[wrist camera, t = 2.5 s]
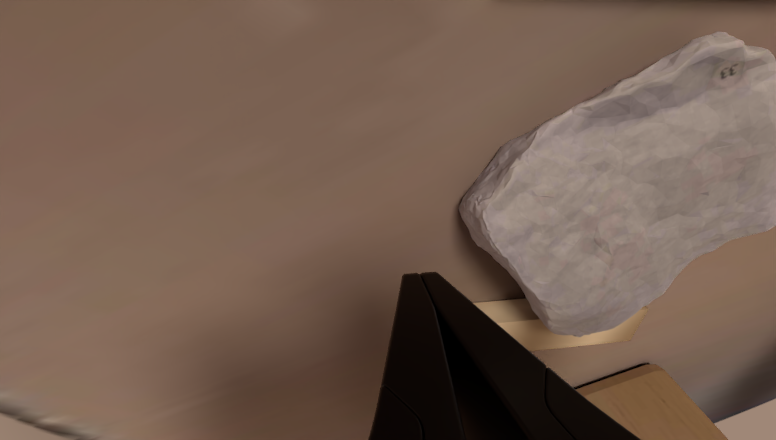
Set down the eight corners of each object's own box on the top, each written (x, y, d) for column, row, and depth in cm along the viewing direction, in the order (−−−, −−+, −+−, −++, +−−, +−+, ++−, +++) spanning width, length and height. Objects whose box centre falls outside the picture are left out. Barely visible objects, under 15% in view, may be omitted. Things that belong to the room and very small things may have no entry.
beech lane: (847, -130, 11) (915, -147, 10) (612, 320, 21) (630, 340, 20) (518, -170, 9) (547, -196, 8) (437, 337, 20) (444, 360, 19)
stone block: (424, 184, 17) (536, 310, 20) (443, 221, 12) (583, 376, 16) (647, -6, 14) (737, 171, 17) (772, -44, 10) (863, 203, 13)
